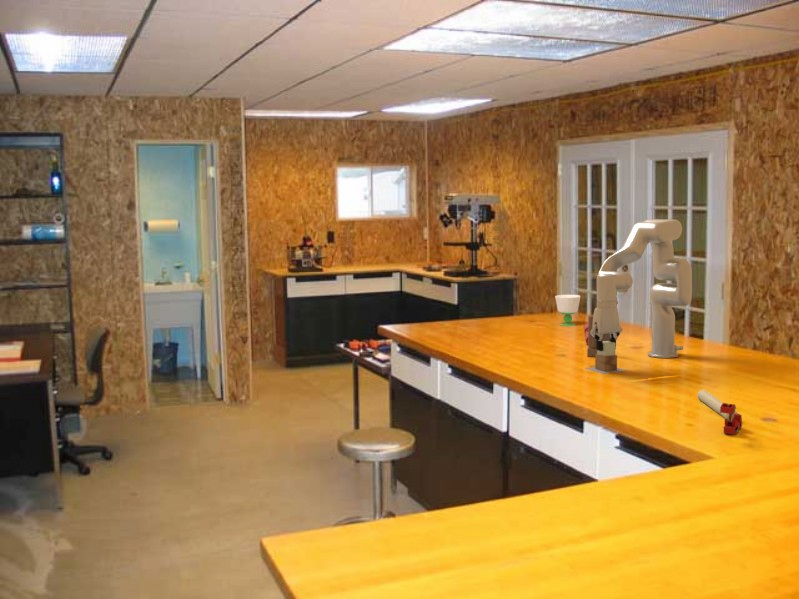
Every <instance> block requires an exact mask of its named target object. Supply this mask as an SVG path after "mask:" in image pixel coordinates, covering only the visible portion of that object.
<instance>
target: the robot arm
mask: <svg viewBox="0 0 799 599" xmlns="http://www.w3.org/2000/svg"><path fill="white" fill-rule="evenodd" d="M682 233H683V225H682V223H681V222H680V220H678V219H671V218H670V219H668V218H667V219H665V218H664V219H660V218H651V219H646V220H643V221H639V222H635V223H634V225H633V226H632V227H631V230H630V231H629V234H628V235H627V237H626V239H625V241H624V243H623V245H622V247H621V249H619V250H618V251H616V252H614V253H612V254H611V255H610V256H609V257H608V258H606V259H605V261H604V262H603V264H602V265H601V267H600V269H599V270H598V273H597V276H596V307H595V308H594V310H593V311H594V312H593V314H592V315H593V325H592V329H591V331H590V334H591V335H592V336H593V337H594V338H595V340H596V348H597V350H598V351H603V341H601V340H602V337H603V334H607V333H610V336H611V339H610V342H614V343H615V350H616V349H617V340H618V338H619V336H620V334H621V333H623V330H624V329H623V328H622V326H621V325H620V316H619V309H618V307H617V305H618V304H619V301H618V300H617V291H627V290H628V291H629V289H630V288H632V286H633V283H634V280H633V277H632V275H631V274H630V273H628V272H625V271H617V270H618V269H620V268H622V267H624V266H627V265H630V264H633V263H635V262H638V261H639V260H641V258H642V257H643V255H644V253H645V250H646V248H647V246H648V244H649V243H650V245H651V248H652V270H653V271H652V272H653V276H654V278H655V279H656V280H659V281H669V282H676V283H668V282H667V283H666V282H665V283H664V282H660V283H656V284H653V285H652V286H651V287H650V290H649V299H650V305H651V351H650V350H649V351H648V352H647V356H649V357H651V358H658V359H671V358H672V359H673V358H678V357H679V353H678V352H677V351H683V350H684V345H678V346H677V344H675V343H676V342H675V338H676V329H675V328H676V315H675V312H674V309H673V308H672V307H679V308H681V307H683V308H684V307H687V306H689V305H690V304H691V302H692V298H693V271H692V270H693V269H692V265H691V263H690V262H689V261H688V260H687V259H684V258H675V256H674V245H673V242H672V241H675V240H678V239H679V238H680V237H681V235H682ZM595 333H596V334H595Z"/></svg>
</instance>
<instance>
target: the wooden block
mask: <svg viewBox="0 0 799 599" xmlns="http://www.w3.org/2000/svg"><path fill="white" fill-rule="evenodd" d="M593 315H594V314H590V315H588V319H587V320H588V321H587V323H588V345H587V346H588V347H587V351H586V352H587V353H586V354H587V357H591V358H592V357H593V358H595V354H597V348H596V340H595V338H594V337H593V336H592V335H591V334H590V331H591V329H592V325H593ZM595 334H596V333H595ZM610 339H611V336H610V333H607V334H603V337H602V340H601V341H610Z"/></svg>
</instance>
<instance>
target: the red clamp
mask: <svg viewBox="0 0 799 599" xmlns="http://www.w3.org/2000/svg"><path fill="white" fill-rule="evenodd" d="M736 409H737V406H736V404H735V403H728V402H727V403H726V402H723V403H722V405H721V407H720V413H727V414H729V415H728V419H726V418H724V426H723V434H727V435H737V434H738V433H739V431H740V430H742V426H743V422H742V420H743V417H742V416H743V415H742V414H740V413H738V414H735V411H736Z"/></svg>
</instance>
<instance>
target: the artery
mask: <svg viewBox="0 0 799 599" xmlns="http://www.w3.org/2000/svg"><path fill="white" fill-rule="evenodd" d="M583 333H584V337H585V339H584V340H585V344H586V345H587V346H588V322H585V323H584V325H583Z"/></svg>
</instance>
